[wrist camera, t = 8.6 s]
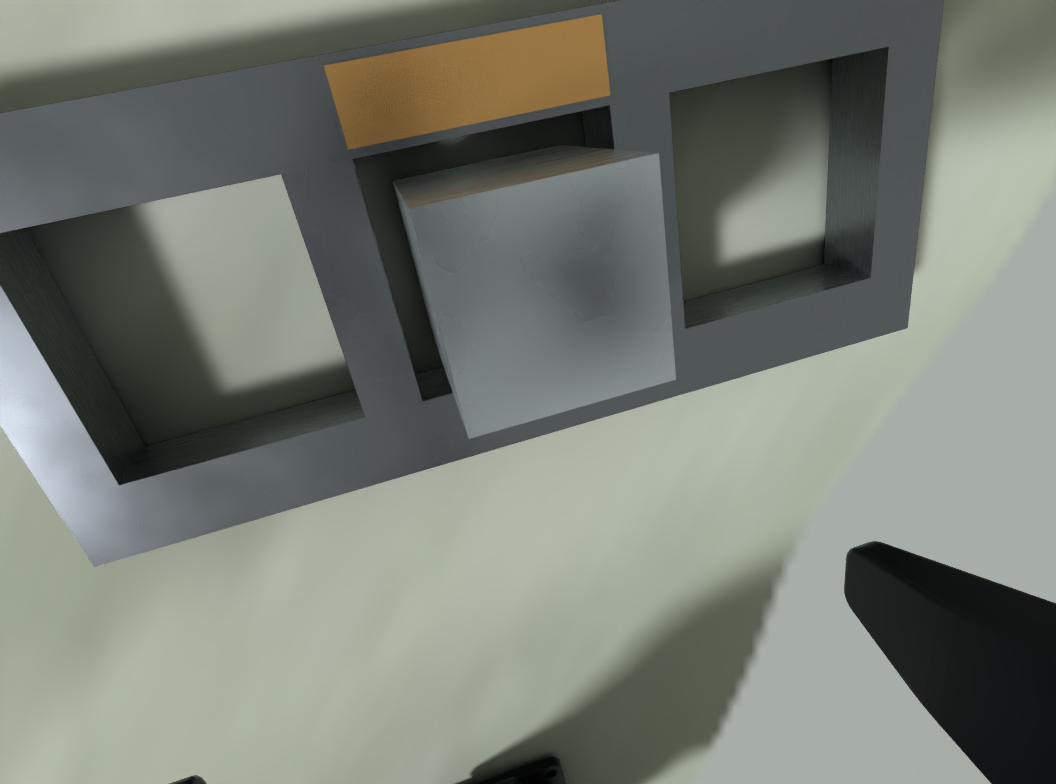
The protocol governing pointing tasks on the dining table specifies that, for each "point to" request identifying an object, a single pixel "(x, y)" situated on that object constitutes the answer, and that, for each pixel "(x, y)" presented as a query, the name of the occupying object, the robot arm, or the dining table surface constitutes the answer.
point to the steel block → (543, 279)
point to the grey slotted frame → (354, 255)
